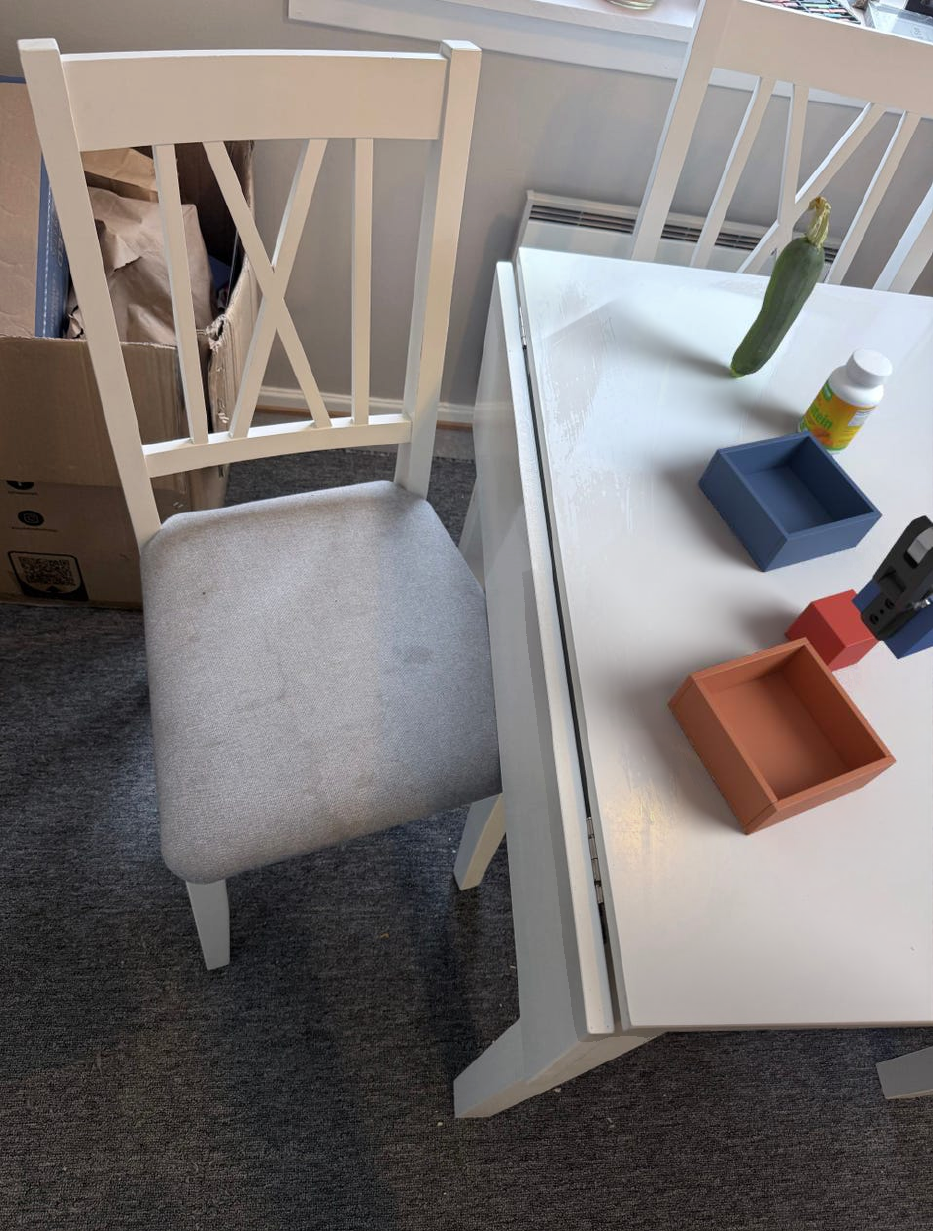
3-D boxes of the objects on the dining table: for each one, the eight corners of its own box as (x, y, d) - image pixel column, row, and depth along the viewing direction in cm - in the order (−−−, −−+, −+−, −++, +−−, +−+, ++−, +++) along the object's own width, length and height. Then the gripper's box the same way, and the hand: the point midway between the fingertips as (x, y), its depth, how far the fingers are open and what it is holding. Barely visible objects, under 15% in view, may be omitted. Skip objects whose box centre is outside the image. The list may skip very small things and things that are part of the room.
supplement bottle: (786, 423, 88) (834, 346, 80) (825, 416, 90) (875, 340, 82) (816, 459, 85) (869, 383, 78) (855, 451, 87) (911, 376, 80)
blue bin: (856, 547, 79) (883, 514, 75) (763, 572, 75) (787, 540, 71) (787, 463, 84) (809, 430, 81) (697, 483, 80) (716, 449, 77)
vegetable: (764, 384, 92) (866, 207, 76) (744, 399, 89) (844, 221, 73) (732, 362, 93) (824, 184, 77) (711, 376, 91) (802, 196, 75)
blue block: (949, 640, 53) (999, 597, 49) (897, 659, 51) (945, 617, 47) (901, 584, 55) (946, 539, 51) (850, 600, 53) (893, 555, 49)
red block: (857, 663, 71) (888, 632, 67) (816, 677, 69) (845, 647, 65) (824, 620, 73) (853, 588, 69) (784, 633, 71) (811, 601, 68)
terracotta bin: (863, 787, 64) (897, 761, 60) (747, 835, 60) (777, 811, 56) (778, 666, 69) (805, 636, 65) (667, 704, 65) (689, 673, 61)
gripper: (1086, 499, 35) (857, 700, 48) (1275, 440, 40) (1019, 636, 54) (962, 379, 38) (781, 598, 52) (1151, 340, 43) (941, 548, 57)
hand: (903, 617), depth 53 cm, fingers closed on blue block, 4 cm apart
